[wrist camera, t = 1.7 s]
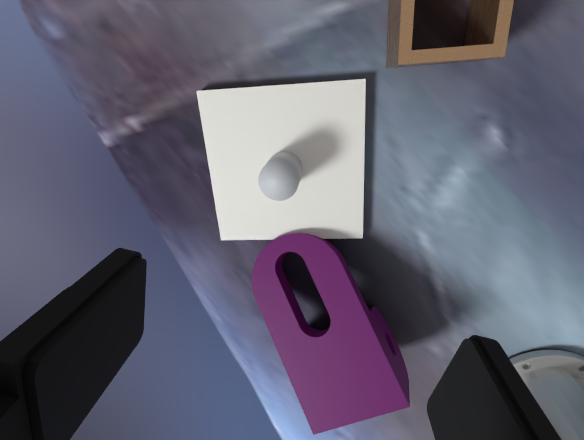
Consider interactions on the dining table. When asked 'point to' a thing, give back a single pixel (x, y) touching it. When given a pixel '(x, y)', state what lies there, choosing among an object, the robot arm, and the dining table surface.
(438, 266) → the dining table surface
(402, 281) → the dining table surface
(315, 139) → the flange
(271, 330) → the mounting bracket
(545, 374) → the robot arm
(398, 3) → the open wooden box
